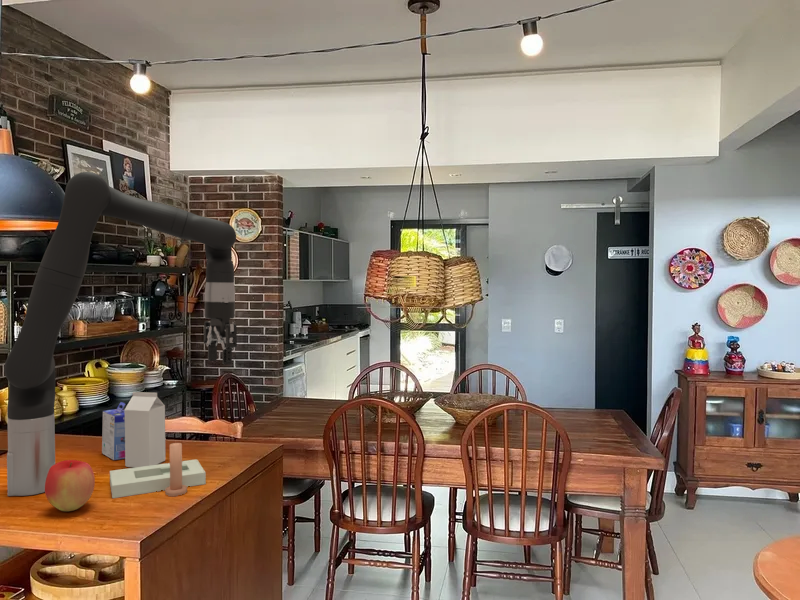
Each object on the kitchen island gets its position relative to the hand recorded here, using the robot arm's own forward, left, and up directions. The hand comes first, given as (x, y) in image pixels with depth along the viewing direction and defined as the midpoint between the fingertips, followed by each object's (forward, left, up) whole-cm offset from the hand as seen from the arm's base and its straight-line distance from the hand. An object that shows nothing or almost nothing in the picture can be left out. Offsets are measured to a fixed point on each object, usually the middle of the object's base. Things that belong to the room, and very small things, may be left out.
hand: (219, 362), depth 156 cm
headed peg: (-13, -16, -27) cm, 34 cm away
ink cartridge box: (-23, +23, -27) cm, 43 cm away
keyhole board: (-16, -7, -27) cm, 32 cm away
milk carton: (-17, +11, -27) cm, 34 cm away
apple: (-34, -16, -27) cm, 46 cm away
